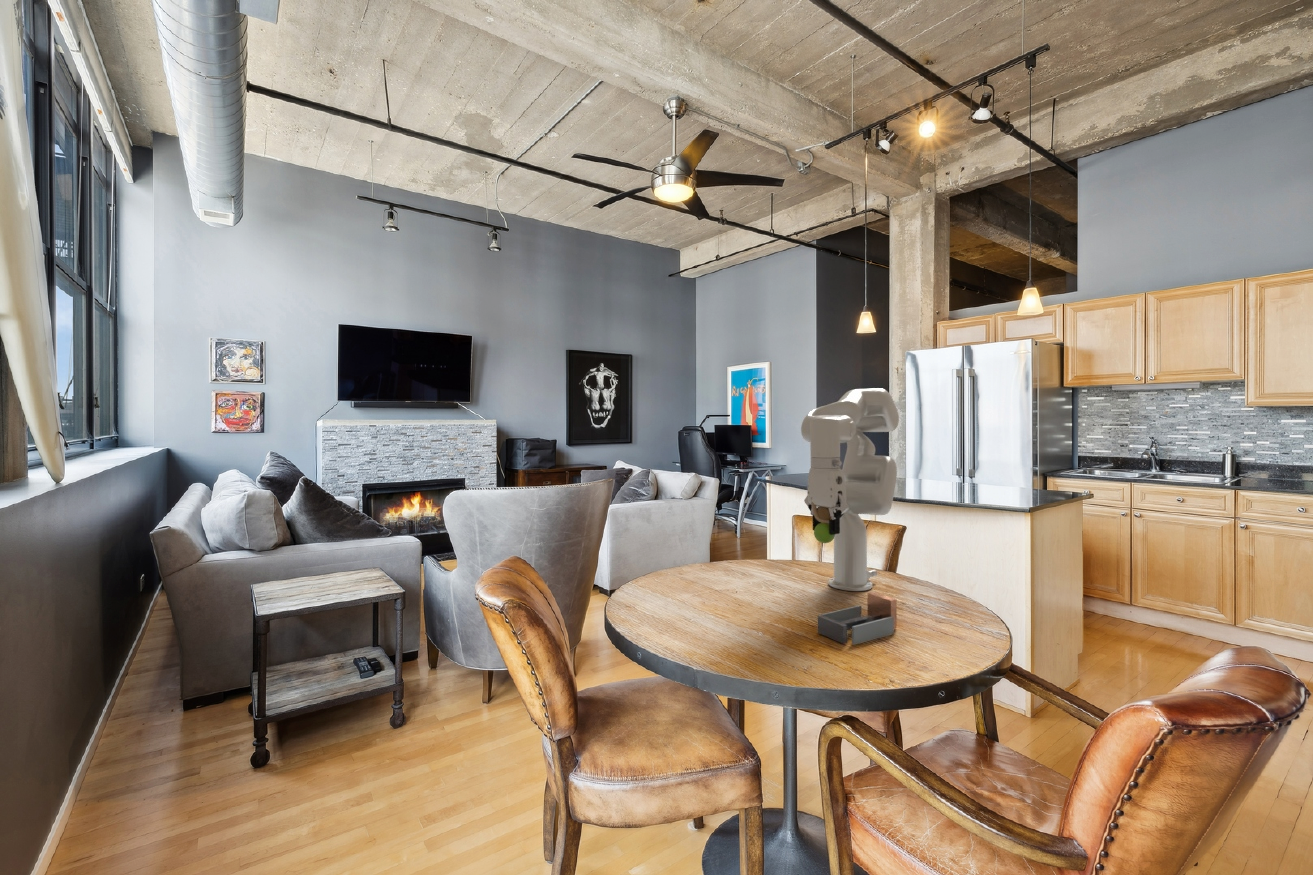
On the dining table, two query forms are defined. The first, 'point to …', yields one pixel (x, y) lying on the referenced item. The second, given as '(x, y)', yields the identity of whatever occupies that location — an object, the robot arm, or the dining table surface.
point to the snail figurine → (822, 524)
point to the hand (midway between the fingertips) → (826, 531)
